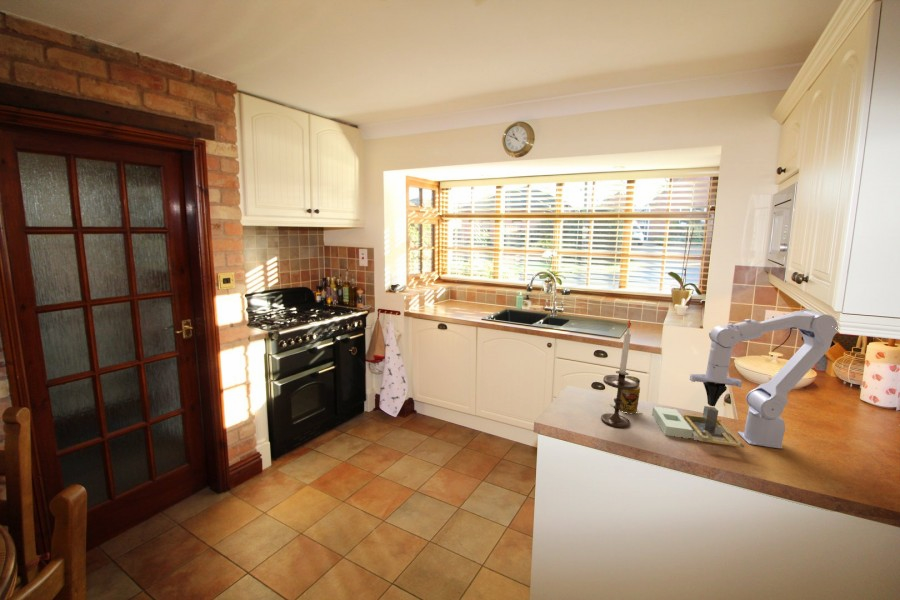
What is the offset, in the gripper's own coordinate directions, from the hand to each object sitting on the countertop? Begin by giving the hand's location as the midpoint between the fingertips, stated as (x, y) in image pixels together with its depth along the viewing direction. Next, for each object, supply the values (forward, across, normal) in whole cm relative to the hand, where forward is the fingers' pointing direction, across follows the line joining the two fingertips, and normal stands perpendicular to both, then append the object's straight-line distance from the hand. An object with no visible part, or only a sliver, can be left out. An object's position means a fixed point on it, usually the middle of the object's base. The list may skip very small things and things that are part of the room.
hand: (711, 405), depth 137 cm
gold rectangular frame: (+8, 0, +3) cm, 9 cm away
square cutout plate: (+10, +10, -3) cm, 14 cm away
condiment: (+10, +22, -13) cm, 27 cm away
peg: (+10, 0, 0) cm, 10 cm away
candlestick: (+10, +28, 0) cm, 30 cm away
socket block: (+10, 0, 0) cm, 10 cm away
